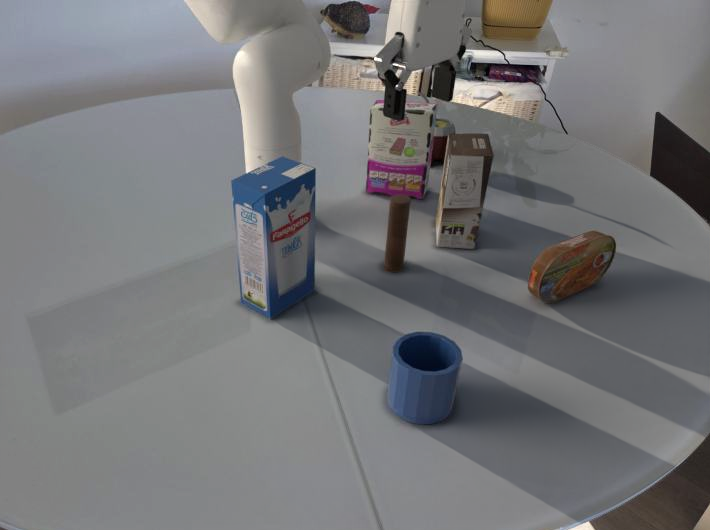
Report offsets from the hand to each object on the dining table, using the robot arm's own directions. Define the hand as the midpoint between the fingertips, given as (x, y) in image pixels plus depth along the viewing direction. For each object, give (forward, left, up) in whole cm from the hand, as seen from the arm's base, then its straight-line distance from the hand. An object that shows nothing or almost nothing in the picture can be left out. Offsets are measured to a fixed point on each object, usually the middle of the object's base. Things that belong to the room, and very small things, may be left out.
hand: (418, 108), depth 86 cm
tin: (+21, +13, -25) cm, 35 cm away
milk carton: (-6, -20, -25) cm, 33 cm away
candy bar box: (-18, +19, -25) cm, 37 cm away
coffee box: (0, +14, -25) cm, 29 cm away
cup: (+23, -21, -25) cm, 40 cm away
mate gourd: (-22, +34, -25) cm, 48 cm away
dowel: (0, -1, -25) cm, 25 cm away
